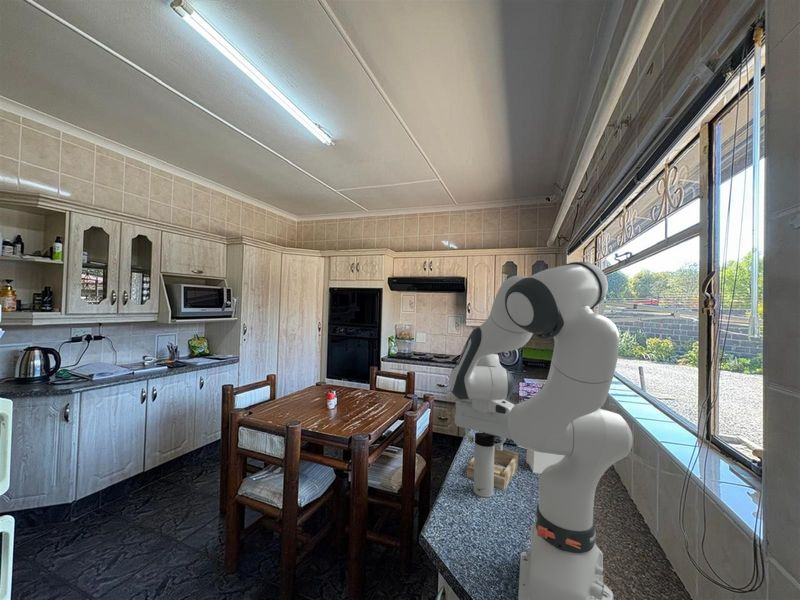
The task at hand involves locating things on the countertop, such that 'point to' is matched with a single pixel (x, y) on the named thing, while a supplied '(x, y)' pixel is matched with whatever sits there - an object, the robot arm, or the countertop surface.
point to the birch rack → (503, 458)
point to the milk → (541, 460)
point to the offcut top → (497, 470)
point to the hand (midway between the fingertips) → (484, 445)
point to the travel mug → (484, 465)
